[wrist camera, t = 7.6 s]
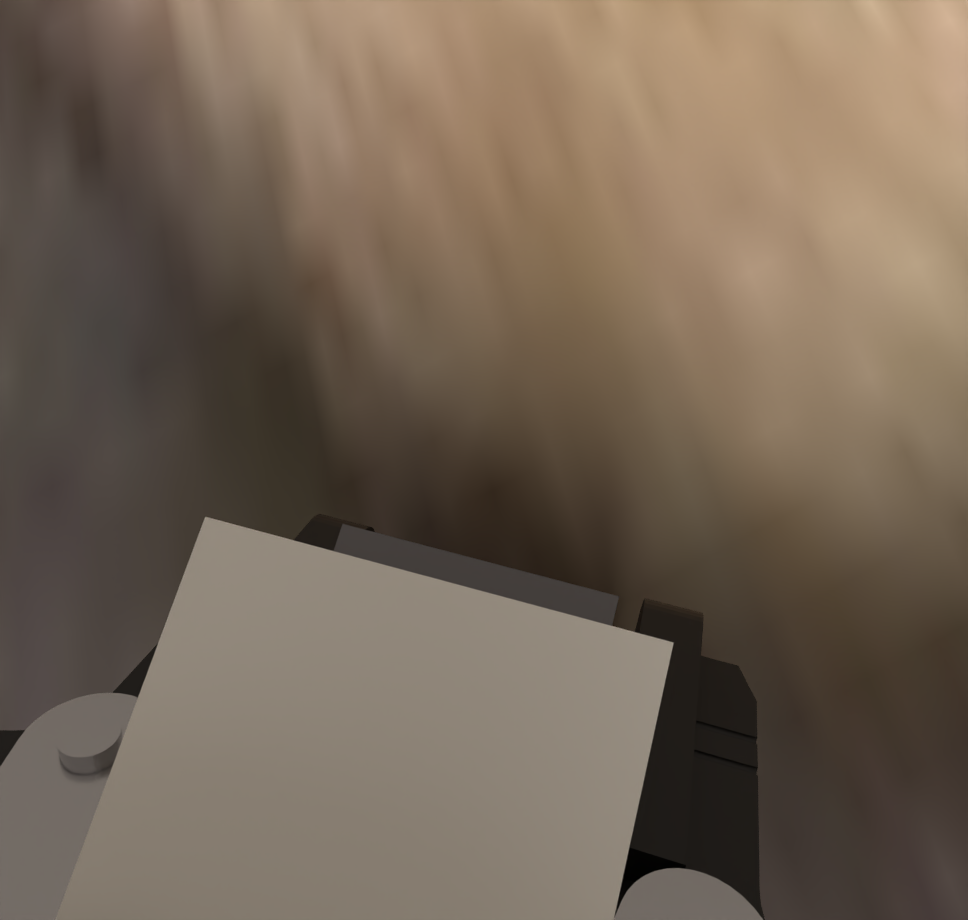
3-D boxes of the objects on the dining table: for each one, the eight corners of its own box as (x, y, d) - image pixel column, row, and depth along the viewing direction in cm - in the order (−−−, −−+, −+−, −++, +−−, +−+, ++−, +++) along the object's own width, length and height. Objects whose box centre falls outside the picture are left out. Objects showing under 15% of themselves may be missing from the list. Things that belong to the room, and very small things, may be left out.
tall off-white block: (424, 602, 15) (228, 456, 7) (621, 657, 15) (687, 573, 6) (346, 866, 14) (-13, 1101, 5) (557, 937, 13) (525, 1330, 5)
